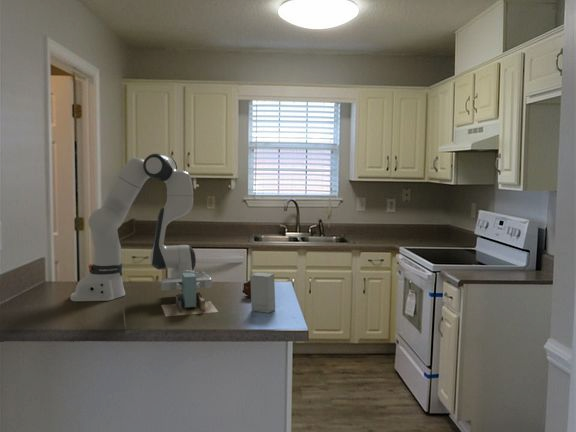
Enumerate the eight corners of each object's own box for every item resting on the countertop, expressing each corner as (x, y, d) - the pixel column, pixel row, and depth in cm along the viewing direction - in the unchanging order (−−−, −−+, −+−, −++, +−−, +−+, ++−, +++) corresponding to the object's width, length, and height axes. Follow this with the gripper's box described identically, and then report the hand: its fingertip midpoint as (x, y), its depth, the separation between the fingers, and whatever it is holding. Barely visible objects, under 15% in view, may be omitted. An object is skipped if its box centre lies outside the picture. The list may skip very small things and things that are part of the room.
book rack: (165, 318, 186) (165, 304, 185) (161, 307, 201) (161, 294, 200) (218, 314, 193) (218, 300, 192) (210, 303, 208) (210, 290, 207)
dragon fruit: (247, 304, 213) (253, 301, 225) (263, 293, 213) (268, 290, 225) (236, 287, 215) (243, 285, 226) (252, 276, 214) (258, 274, 226)
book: (184, 307, 193) (184, 277, 191) (182, 302, 199) (182, 273, 198) (196, 306, 194) (196, 276, 193) (193, 301, 201) (193, 272, 199)
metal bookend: (179, 312, 190) (179, 301, 190) (175, 306, 200) (175, 295, 199) (181, 312, 191) (181, 301, 190) (177, 305, 200) (177, 294, 200)
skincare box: (275, 310, 200) (275, 273, 198) (268, 313, 194) (268, 276, 193) (257, 307, 203) (257, 271, 202) (249, 310, 198) (250, 274, 197)
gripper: (158, 274, 204) (162, 281, 191) (208, 271, 211) (214, 278, 198) (158, 289, 205) (162, 297, 192) (208, 285, 212) (214, 293, 199)
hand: (189, 287), depth 195 cm, fingers closed on book, 4 cm apart
